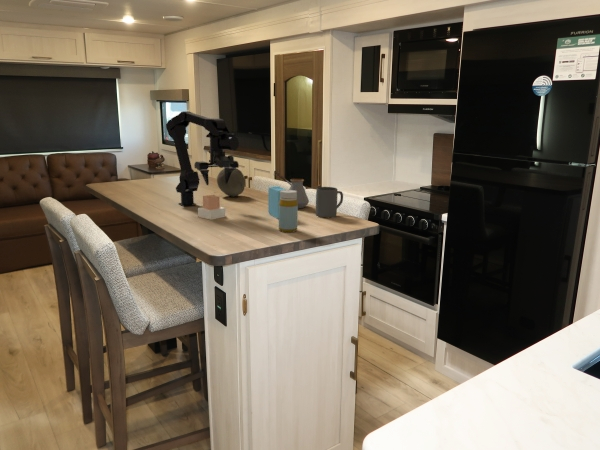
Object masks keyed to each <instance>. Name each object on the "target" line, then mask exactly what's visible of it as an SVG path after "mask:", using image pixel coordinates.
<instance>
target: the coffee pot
mask: <svg viewBox="0 0 600 450" xmlns="http://www.w3.org/2000/svg"><path fill="white" fill-rule="evenodd" d="M273 176H278V177H279V178H280V179H282V181H284V182H285V183H287V184H288V185H289V189H288V190H295V191H297V197H296V198H297V203H298V209H304V208H306V206H308V204H309V202H310V199H309V197H308V195H307V193H306V189H305V188H304V185H303V183H304V181H305V179H303V178H291V179H289V180H290V181H289V180H287V179H286V178H285V177H284V175H282V174H280V173H278V171H275V172H274V173H273Z"/></svg>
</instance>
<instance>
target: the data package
mask: <svg viewBox="0 0 600 450" xmlns="http://www.w3.org/2000/svg"><path fill="white" fill-rule="evenodd" d="M281 190H287V189H286V188H284V187H280V186H269V187H268V195H267V196H268V199H267V200H268V202H267V206H268V207H267V212H268V214H269V215H270V216H272V217H274V218H275V219H277V220H279V202H280V191H281Z"/></svg>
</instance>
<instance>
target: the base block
mask: <svg viewBox="0 0 600 450" xmlns="http://www.w3.org/2000/svg"><path fill="white" fill-rule="evenodd" d="M197 215H198V216H197V217H199V218H202V219H207V220H215V219H221V218H224V217H226V207H222V206H220V209H211V210H208V209H205V208H203V206H202V207H198V208H197Z"/></svg>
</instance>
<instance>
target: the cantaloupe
mask: <svg viewBox="0 0 600 450" xmlns="http://www.w3.org/2000/svg"><path fill="white" fill-rule="evenodd" d="M216 183H217V186H218V187H217V188H218V189H220V191H221V192H222V193H223V194H225V195H226V196H229V197H234V198H235V197H238V196H239V195H241V194H243V192H244V191H245V187H246V178H245V175H244V174H243V172H242V171H241V170H240V169H238V168H236V170H233V171H232V173H231V175H230V178H229V181H228V183H227V184H226V183H225V170H224V168H222V169H221V170H220V171H219V172H218V174H217V176H216Z"/></svg>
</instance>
